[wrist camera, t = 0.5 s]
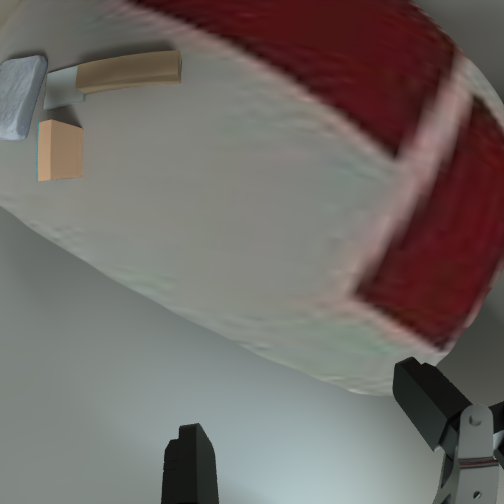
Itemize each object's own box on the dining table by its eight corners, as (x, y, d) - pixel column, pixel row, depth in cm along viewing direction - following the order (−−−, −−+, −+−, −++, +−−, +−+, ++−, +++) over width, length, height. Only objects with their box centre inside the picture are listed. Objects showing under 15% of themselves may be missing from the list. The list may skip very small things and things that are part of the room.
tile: (70, 130, 28) (37, 122, 21) (82, 128, 29) (51, 119, 21) (70, 178, 30) (36, 181, 22) (82, 177, 30) (50, 179, 23)
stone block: (-6, 141, 28) (30, 143, 28) (-28, 139, 23) (6, 139, 23) (16, 67, 26) (56, 59, 25) (-4, 59, 21) (35, 48, 21)
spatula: (51, 75, 26) (38, 68, 22) (182, 54, 28) (180, 42, 25) (46, 110, 27) (33, 105, 24) (180, 90, 29) (176, 82, 26)
